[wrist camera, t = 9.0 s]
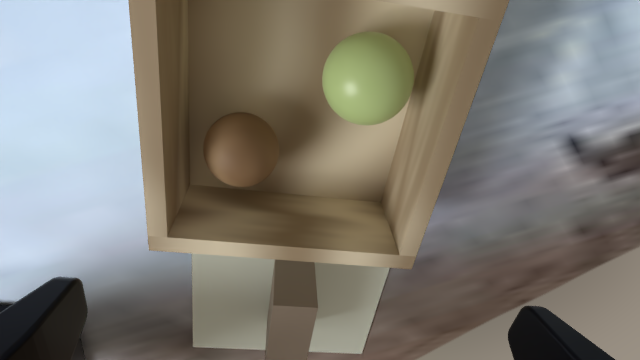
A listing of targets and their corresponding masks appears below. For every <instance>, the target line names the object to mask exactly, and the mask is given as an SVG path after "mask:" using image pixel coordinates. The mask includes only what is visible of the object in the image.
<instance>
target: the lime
mask: <svg viewBox="0 0 640 360" xmlns="http://www.w3.org/2000/svg"><path fill="white" fill-rule="evenodd" d="M413 84H414V70H413V65H412V62H411V59H410V57H409V55H408V53H407V52H406V50H405V49H404V47H403V46H402V45H401V44H400V43H399V42H398V41H396V40H395V39H393V38H392V37H390V36H388V35H386V34H383V33H379V32H372V31H368V32H360V33H356V34H353V35H351V36H349V37H347V38H345V39H344V40H342V41H341V42H340V43H338V44H337V45H336V46H335V48H334V49H333V50H332V51H331V53H330V54H329V56H328V58H327V60H326V62H325V65H324V69H323V75H322V86H323V91H324V94H325V97H326V99H327V101H328V104H329V105H330V107H331V108H332V109H333V110H334V112H335V113H337V114H338V115H339V116H340V117H341V118H343V119H344V120H346V121H348V122H351V123H354V124H357V125H366V126H368V125H376V124H380V123H383V122H385V121H387V120H389V119H391V118H393V117H394V116H395V115H396V114H398V113H399V112H400V111H401V110H402V108H403V107H404V106H405V105H406V103H407V101H408V99H409V97H410V95H411V92H412V89H413Z"/></svg>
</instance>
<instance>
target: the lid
mask: <svg viewBox="0 0 640 360" xmlns="http://www.w3.org/2000/svg"><path fill="white" fill-rule="evenodd" d="M388 271H389V268H387V267H373V266H359V265H345V264H331V263H318V262H304V261H290V260H276V259H262V258H248V257H235V256H221V255H207V254H193V253H192V313H193V347H201V348H226V349H252V350H265V360H307V357H308V352H328V353H354V354H362V351H363V348H364V345H365V342H366V339H367V336H368V333H369V330H370V327H371V324H372V321H373V318H374V315H375V311H376V308H377V305H378V302H379V299H380V296H381V293H382V290H383V287H384V284H385V281H386V278H387V274H388Z"/></svg>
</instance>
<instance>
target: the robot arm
mask: <svg viewBox="0 0 640 360" xmlns="http://www.w3.org/2000/svg"><path fill="white" fill-rule="evenodd" d="M86 318H87V304H86V299H85V294H84V289H83V284H82V282H81V280H80V279H78V278H68V277H56V278H53V279H51V280H50V281H48V282H46V283H45V284H43V285H42V286H40V287H39V288H37V289H36V290H34V291H33V292H31V293H30V294H28V295H26V296H25V297H23V298H22V299H20V300H19V301H17V302H16V303H14V304H13V305H11V306H0V360H85V357H84V352H83V348H82V344H81V339H80V338H79V337H80V335H81V332H82V329H83V327H84V324H85V321H86ZM508 341H509V344H510V348H511V351H512V354H513V358H514V360H615V359H614V358H612V357H611V356H610V355H608V354H607V353H606V352H604V351H603V350H602V349H600V348H599V347H597V346H596V345H595V344H593V343H592V342H591V341H589V340H588V339H587V338H585V337H584V336H583V335H581V334H580V333H579V332H577V331H576V330H575V329H573V328H572V327H571V326H569V325H568V324H566V323H565V322H564V321H562V320H561V319H560V318H558V317H557V316H556V315H554V314H553V313H552V312H550V311H549V310H547V309H546V308H543V307H539V306H525V307H523V308H522V309H521V310H520V312H519V314H518V315H517V317H516V319H515V320H514V322H513V324H512V325H511V327H510V329H509V332H508Z"/></svg>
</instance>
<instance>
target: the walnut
mask: <svg viewBox="0 0 640 360" xmlns="http://www.w3.org/2000/svg"><path fill="white" fill-rule="evenodd" d="M203 154H204V159H205V162H206V164H207V166H208V168H209V170H210V171H211V172H212V174H213V175H214V176H215V177H216V178H218V179H219V180H220V181H222V182H224V183H226V184H228V185H231V186H236V187H248V186H252V185H255V184H258V183H260V182H262V181H263V180H265V179H266V178H267V177H268V176H269V175H270V174H271V173H272V171H273V170H274V168H275V166H276V164H277V161H278V157H279V143H278V139H277V136H276V134H275V132H274V130H273V129H272V127H271V126H270V125H269V124H268V123H267V122H266V121H265V120H263V119H262V118H260V117H259V116H256V115H254V114H251V113H246V112H236V113H231V114H228V115H225V116H223V117H221V118H220V119H218V120H217V121H216V122H215V123H213V125H212V126H211V127H210V129H209V130H208V132H207V134H206V136H205V139H204V144H203Z"/></svg>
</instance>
